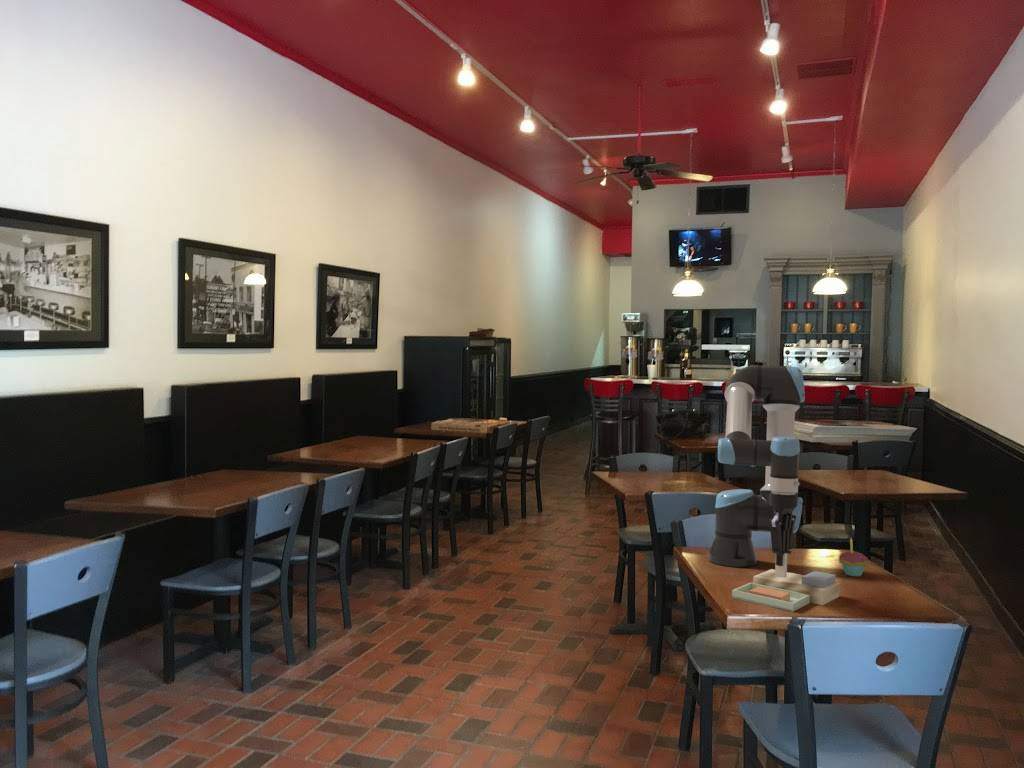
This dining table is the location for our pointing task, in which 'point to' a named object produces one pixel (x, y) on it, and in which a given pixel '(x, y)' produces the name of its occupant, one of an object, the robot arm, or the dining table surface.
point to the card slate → (818, 579)
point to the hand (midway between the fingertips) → (780, 576)
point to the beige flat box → (798, 586)
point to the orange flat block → (771, 593)
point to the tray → (795, 598)
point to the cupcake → (853, 562)
